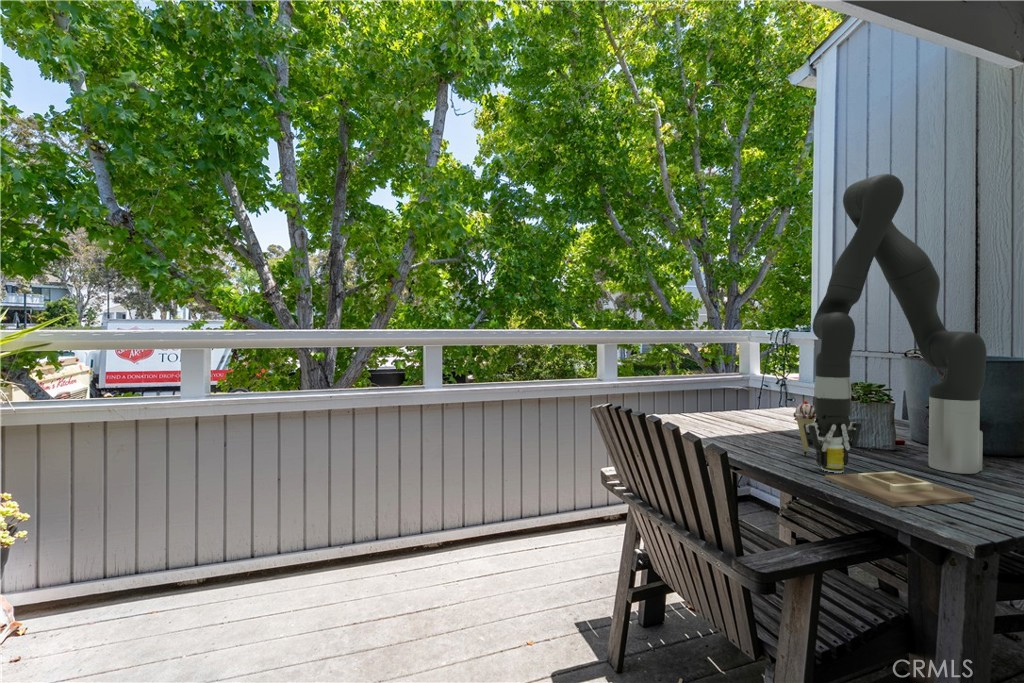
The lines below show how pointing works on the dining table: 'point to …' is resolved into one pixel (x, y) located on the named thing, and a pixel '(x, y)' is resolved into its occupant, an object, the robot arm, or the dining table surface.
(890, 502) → the socket board
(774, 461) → the dining table surface
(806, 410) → the ice cream cone
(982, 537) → the dining table surface
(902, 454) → the dining table surface
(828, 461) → the supplement bottle
